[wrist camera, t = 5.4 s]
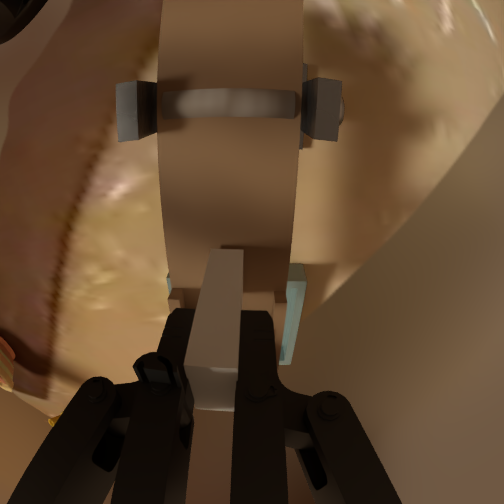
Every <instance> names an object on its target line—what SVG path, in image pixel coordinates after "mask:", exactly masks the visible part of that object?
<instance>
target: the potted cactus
mask: <svg viewBox="0 0 504 504" xmlns="http://www.w3.org/2000/svg"><path fill="white" fill-rule="evenodd" d="M13 359H15V353H14V351H13V350H12V348H11V347H10V346H9V345H8V343H7V342H6V341H5V340H4V339H3V338H2V337H1V336H0V387H2V388H3V389H5V390H7V391H10V392H12V389H13V384H14V383H13V381H12V378H13V371H14V366H13Z"/></svg>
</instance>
